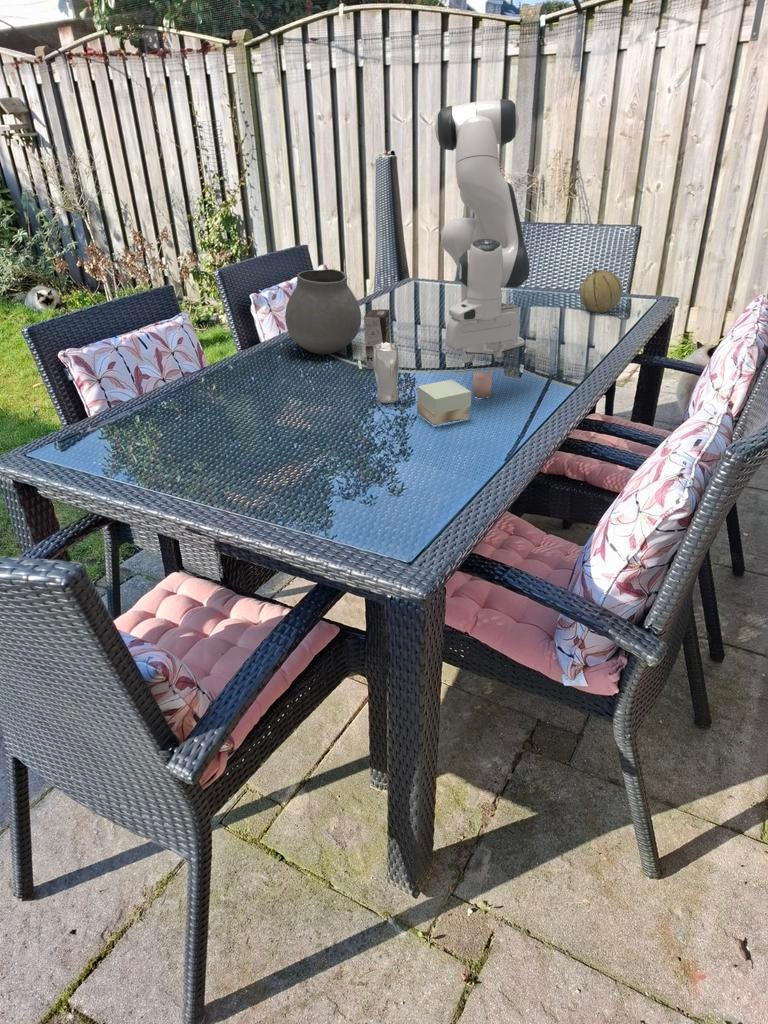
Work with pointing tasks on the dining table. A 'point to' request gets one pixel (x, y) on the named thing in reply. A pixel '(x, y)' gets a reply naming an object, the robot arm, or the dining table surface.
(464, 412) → the tower base
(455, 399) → the tower top
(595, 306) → the cantaloupe
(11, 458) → the dining table surface
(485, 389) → the rose cylinder
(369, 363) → the coffee box
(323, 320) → the ceramic pot
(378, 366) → the beer glass
